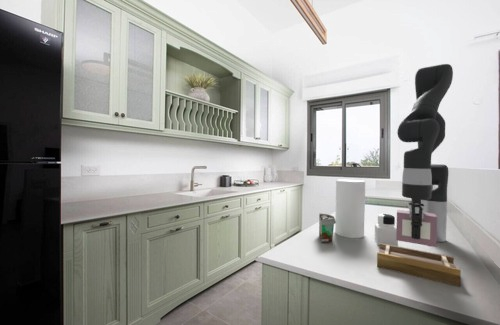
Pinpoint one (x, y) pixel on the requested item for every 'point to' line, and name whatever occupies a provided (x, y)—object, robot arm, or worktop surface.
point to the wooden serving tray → (419, 263)
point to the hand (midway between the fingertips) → (415, 235)
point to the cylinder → (350, 208)
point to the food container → (326, 227)
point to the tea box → (426, 232)
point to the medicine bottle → (386, 230)
